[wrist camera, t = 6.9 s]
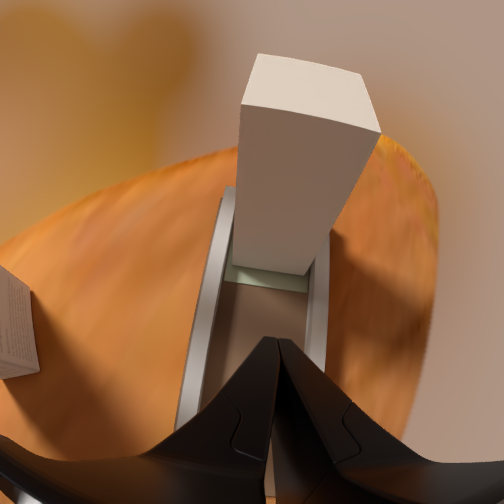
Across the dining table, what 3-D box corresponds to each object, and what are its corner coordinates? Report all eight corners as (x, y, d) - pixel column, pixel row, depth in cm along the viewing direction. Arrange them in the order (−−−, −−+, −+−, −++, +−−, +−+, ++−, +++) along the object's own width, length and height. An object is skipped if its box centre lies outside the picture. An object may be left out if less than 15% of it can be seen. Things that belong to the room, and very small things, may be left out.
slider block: (304, 275, 16) (381, 133, 7) (232, 264, 16) (241, 104, 7) (306, 217, 18) (360, 74, 9) (242, 206, 18) (258, 53, 9)
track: (300, 491, 11) (311, 503, 9) (170, 476, 11) (161, 487, 9) (323, 223, 19) (333, 203, 17) (221, 206, 19) (221, 185, 17)
